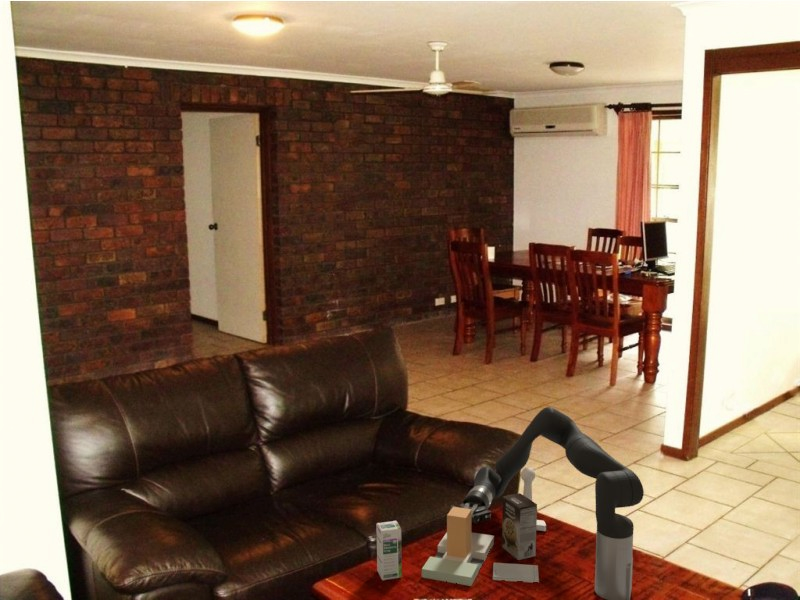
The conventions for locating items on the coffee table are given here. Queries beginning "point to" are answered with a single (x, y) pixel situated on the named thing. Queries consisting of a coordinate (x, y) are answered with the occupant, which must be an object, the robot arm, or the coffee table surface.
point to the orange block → (459, 532)
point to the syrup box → (389, 550)
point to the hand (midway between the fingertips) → (462, 524)
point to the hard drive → (515, 572)
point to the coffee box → (519, 526)
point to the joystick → (528, 477)
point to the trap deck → (458, 561)
